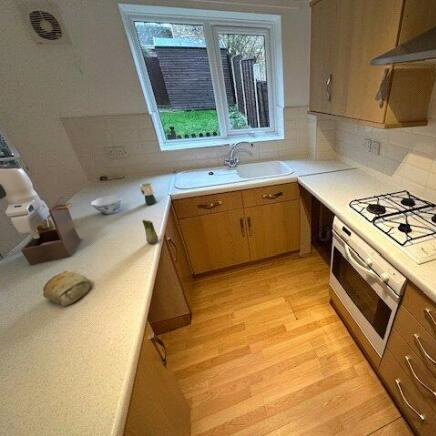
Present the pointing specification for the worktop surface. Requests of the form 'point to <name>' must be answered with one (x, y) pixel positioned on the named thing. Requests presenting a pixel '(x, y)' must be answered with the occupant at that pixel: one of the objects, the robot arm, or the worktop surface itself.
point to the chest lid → (61, 217)
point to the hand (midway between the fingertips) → (42, 232)
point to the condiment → (45, 228)
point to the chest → (50, 246)
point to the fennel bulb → (150, 232)
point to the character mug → (148, 193)
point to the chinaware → (107, 204)
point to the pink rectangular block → (51, 242)
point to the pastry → (66, 288)
